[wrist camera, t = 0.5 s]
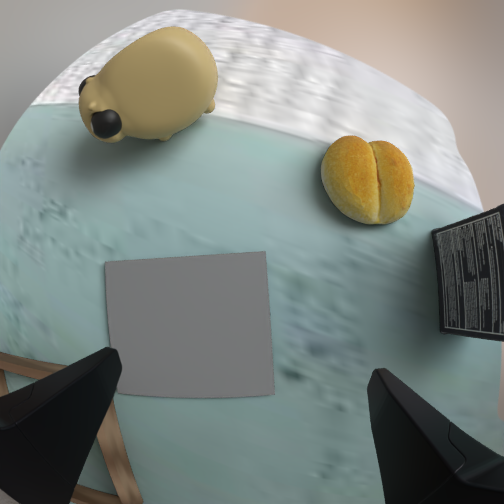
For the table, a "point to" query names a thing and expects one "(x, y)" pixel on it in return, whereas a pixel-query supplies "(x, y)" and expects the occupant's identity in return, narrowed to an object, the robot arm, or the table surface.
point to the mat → (192, 325)
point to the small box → (472, 275)
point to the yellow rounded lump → (368, 180)
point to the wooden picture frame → (108, 436)
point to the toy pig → (150, 88)
